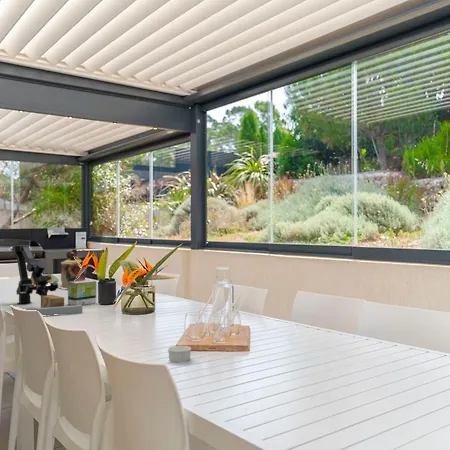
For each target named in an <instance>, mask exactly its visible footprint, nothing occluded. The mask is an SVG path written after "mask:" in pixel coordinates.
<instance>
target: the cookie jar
mask: <svg viewBox="0 0 450 450" xmlns="http://www.w3.org/2000/svg"><path fill="white" fill-rule="evenodd" d="M77 249H78V248H76V247H75V248H73V249H70V250H67V252H66V254H65V256H66V257H67V258H66V259H65V260H64V261H61V262H60V265H61V272H60V281H61V284H58V288H57V289H60V288H61V289H60V290H64V289H65V290H64V291H66V290H68V282H72V281H74V280H75V279H76V276H77V274H78V272H79V270H80V267H79V266H78V264H77V262H76V260H77V261H78V262H79V263H80V264H82V263H83V262H84V261H83V260H81V258H79V256H78V250H77ZM73 256H74V257H75V259H76V260H75V259H74V257H73ZM86 273H87V268H86V269H85V271H84V272H83V273H82V274H81V276H80V277H79V278H78V279H77V280H76V281H83V280H86Z"/></svg>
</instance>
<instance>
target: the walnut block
mask: <svg viewBox="0 0 450 450" xmlns="http://www.w3.org/2000/svg"><path fill="white" fill-rule="evenodd" d="M61 306H65V297H63V296H58V295H56V294H47V295H45V296H40V308H48V307H61Z"/></svg>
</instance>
